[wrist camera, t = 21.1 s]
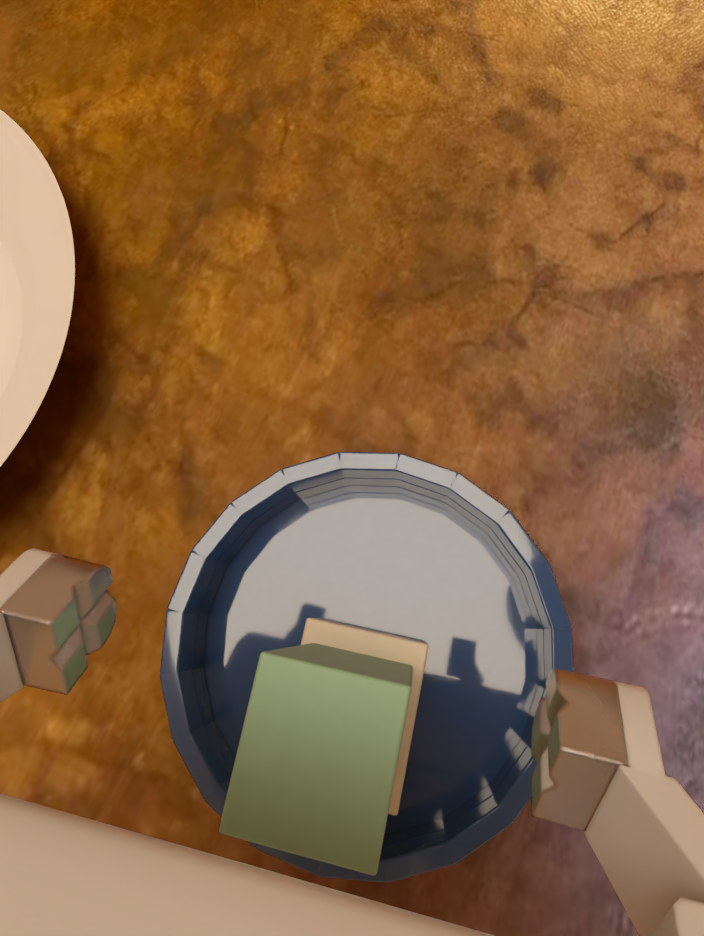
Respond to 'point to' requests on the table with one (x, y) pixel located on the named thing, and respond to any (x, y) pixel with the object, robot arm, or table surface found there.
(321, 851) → the green block on base
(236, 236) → the table surface
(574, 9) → the table surface
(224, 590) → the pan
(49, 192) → the white dinner plate
